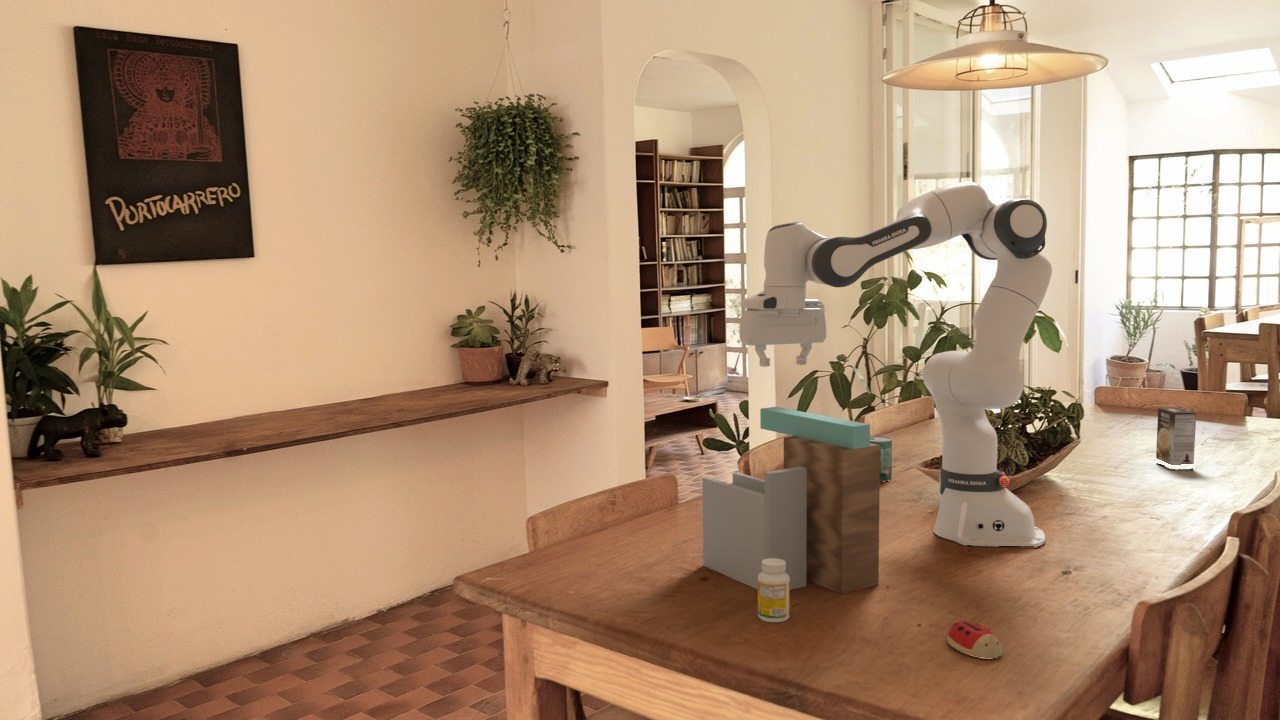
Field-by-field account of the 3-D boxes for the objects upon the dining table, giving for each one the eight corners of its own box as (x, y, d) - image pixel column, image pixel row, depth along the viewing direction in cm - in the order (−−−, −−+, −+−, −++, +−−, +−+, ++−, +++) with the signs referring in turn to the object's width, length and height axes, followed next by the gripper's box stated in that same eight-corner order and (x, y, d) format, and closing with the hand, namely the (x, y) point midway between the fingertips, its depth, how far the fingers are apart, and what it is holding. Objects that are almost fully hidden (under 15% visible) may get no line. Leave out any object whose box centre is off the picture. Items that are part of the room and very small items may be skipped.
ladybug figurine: (980, 665, 146) (980, 642, 146) (934, 642, 155) (934, 620, 154) (1014, 657, 149) (1014, 634, 148) (967, 635, 158) (967, 613, 157)
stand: (783, 570, 190) (783, 437, 187) (819, 562, 195) (819, 432, 192) (842, 594, 176) (842, 450, 174) (878, 584, 181) (879, 444, 178)
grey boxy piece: (703, 565, 194) (702, 454, 192) (737, 557, 198) (737, 449, 196) (770, 594, 177) (769, 473, 174) (806, 586, 181) (806, 467, 179)
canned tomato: (895, 477, 267) (896, 437, 265) (886, 483, 260) (886, 442, 259) (867, 474, 271) (867, 434, 270) (857, 480, 264) (857, 439, 263)
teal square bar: (760, 428, 197) (760, 408, 197) (776, 426, 199) (776, 406, 199) (853, 449, 175) (853, 426, 175) (869, 446, 177) (869, 424, 177)
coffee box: (1154, 463, 279) (1156, 407, 277) (1177, 463, 279) (1179, 406, 277) (1171, 470, 270) (1173, 412, 268) (1195, 470, 269) (1197, 412, 268)
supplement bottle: (778, 625, 162) (778, 568, 161) (751, 618, 166) (751, 562, 165) (796, 616, 166) (796, 560, 165) (768, 609, 170) (768, 554, 169)
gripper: (815, 298, 216) (813, 361, 217) (735, 300, 207) (735, 366, 208) (833, 299, 210) (831, 364, 212) (752, 301, 201) (751, 369, 202)
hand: (783, 365), depth 210 cm, fingers open, 8 cm apart
